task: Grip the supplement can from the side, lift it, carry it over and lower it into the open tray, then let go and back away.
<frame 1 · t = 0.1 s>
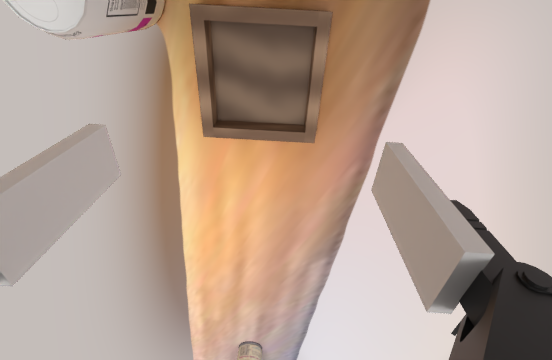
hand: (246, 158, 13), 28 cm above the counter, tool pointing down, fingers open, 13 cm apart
aerosol can: (250, 346, 79), on the counter
tray: (262, 75, 37), on the counter
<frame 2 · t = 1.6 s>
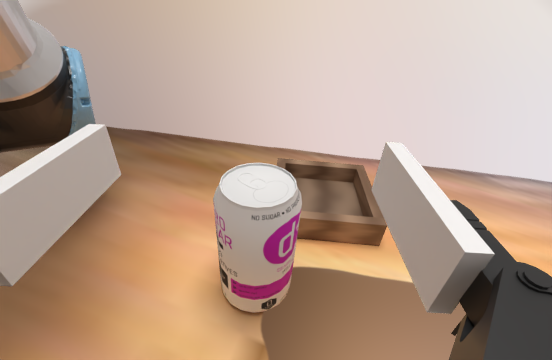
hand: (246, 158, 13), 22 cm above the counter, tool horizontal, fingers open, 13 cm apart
supplement can: (255, 284, 33), on the counter
tray: (320, 205, 46), on the counter
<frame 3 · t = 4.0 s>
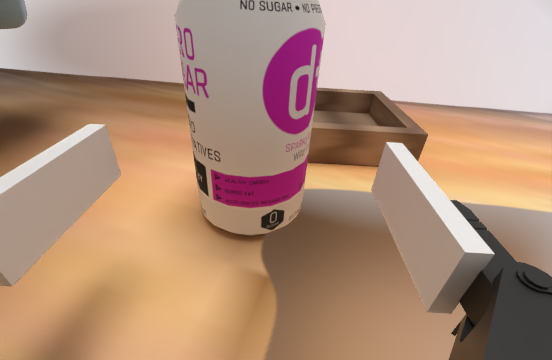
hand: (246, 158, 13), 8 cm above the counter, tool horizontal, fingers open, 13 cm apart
supplement can: (251, 207, 23), on the counter
tray: (331, 134, 36), on the counter
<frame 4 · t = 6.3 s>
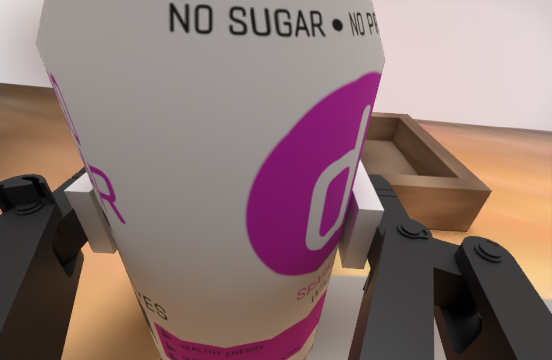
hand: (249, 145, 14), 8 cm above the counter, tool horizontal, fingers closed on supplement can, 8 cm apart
supplement can: (240, 318, 15), on the counter, touching gripper
tray: (348, 172, 28), on the counter
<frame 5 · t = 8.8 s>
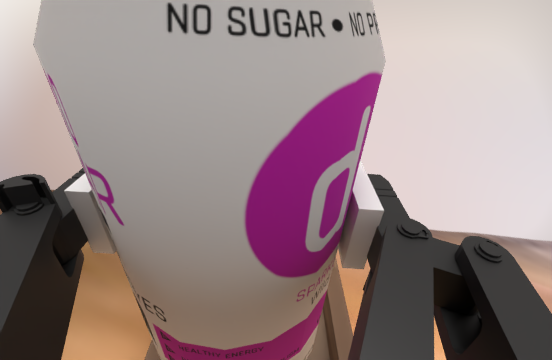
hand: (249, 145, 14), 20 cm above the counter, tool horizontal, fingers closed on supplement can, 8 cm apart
supplement can: (239, 319, 15), point 12 cm above the counter, touching gripper
tray: (255, 351, 24), on the counter
when the fingers open (10 cm above the counter, at t = 11.3 s): supplement can drops 1 cm, resting on tray.
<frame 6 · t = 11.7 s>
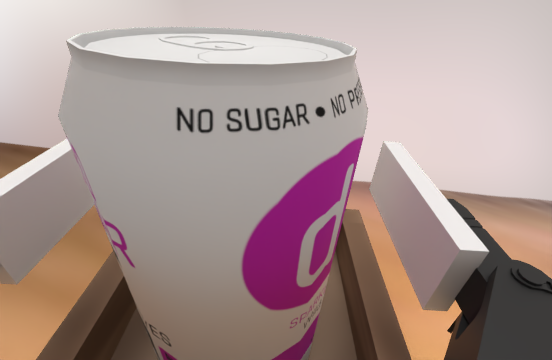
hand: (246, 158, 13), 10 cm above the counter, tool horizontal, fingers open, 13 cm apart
supplement can: (239, 333, 15), point 1 cm above the counter, touching tray
tray: (241, 339, 16), on the counter
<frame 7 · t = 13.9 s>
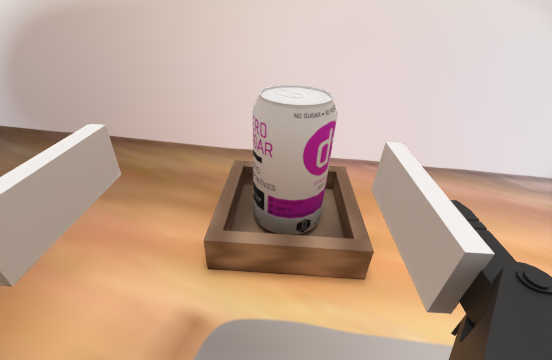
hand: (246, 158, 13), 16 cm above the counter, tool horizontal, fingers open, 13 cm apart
supplement can: (286, 217, 33), point 1 cm above the counter, touching tray
tray: (286, 221, 34), on the counter
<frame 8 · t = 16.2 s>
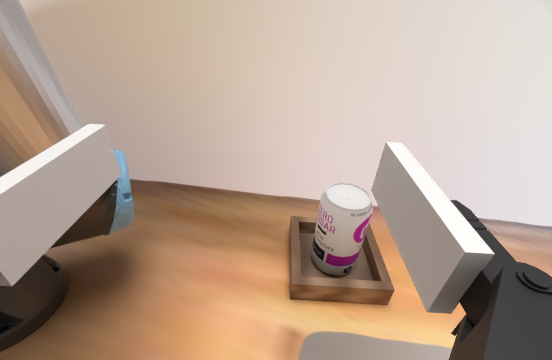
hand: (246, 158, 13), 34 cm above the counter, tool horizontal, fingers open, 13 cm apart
supplement can: (332, 260, 50), point 1 cm above the counter, touching tray
tray: (331, 262, 51), on the counter
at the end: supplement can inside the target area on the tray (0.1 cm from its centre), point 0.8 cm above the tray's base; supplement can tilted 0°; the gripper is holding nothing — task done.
